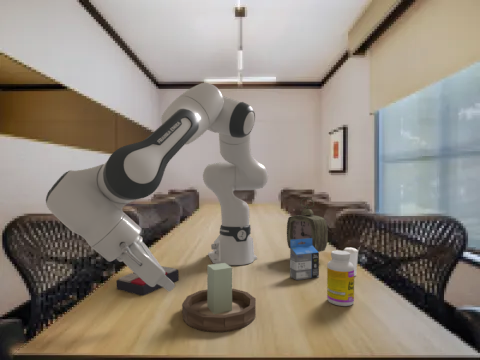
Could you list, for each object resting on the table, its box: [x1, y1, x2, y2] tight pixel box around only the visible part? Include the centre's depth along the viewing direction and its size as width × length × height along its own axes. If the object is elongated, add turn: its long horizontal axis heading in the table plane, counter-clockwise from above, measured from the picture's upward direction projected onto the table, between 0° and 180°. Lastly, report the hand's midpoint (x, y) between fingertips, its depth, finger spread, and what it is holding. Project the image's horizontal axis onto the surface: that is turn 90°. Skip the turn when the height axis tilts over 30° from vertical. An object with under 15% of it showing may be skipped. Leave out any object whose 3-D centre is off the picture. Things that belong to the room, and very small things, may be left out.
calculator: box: [115, 265, 180, 297], centre depth 89 cm, size 11×4×15 cm
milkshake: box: [343, 245, 361, 277], centre depth 98 cm, size 4×5×10 cm
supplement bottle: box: [326, 249, 355, 307], centre depth 76 cm, size 7×7×13 cm
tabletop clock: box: [286, 197, 329, 253], centre depth 118 cm, size 14×9×25 cm, turn 39°
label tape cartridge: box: [289, 238, 320, 281], centre depth 96 cm, size 9×4×12 cm, turn 112°
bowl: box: [181, 288, 257, 333], centre depth 69 cm, size 17×17×3 cm
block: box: [206, 263, 233, 314], centre depth 69 cm, size 4×4×10 cm
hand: (167, 280), depth 64 cm, fingers open, 8 cm apart
